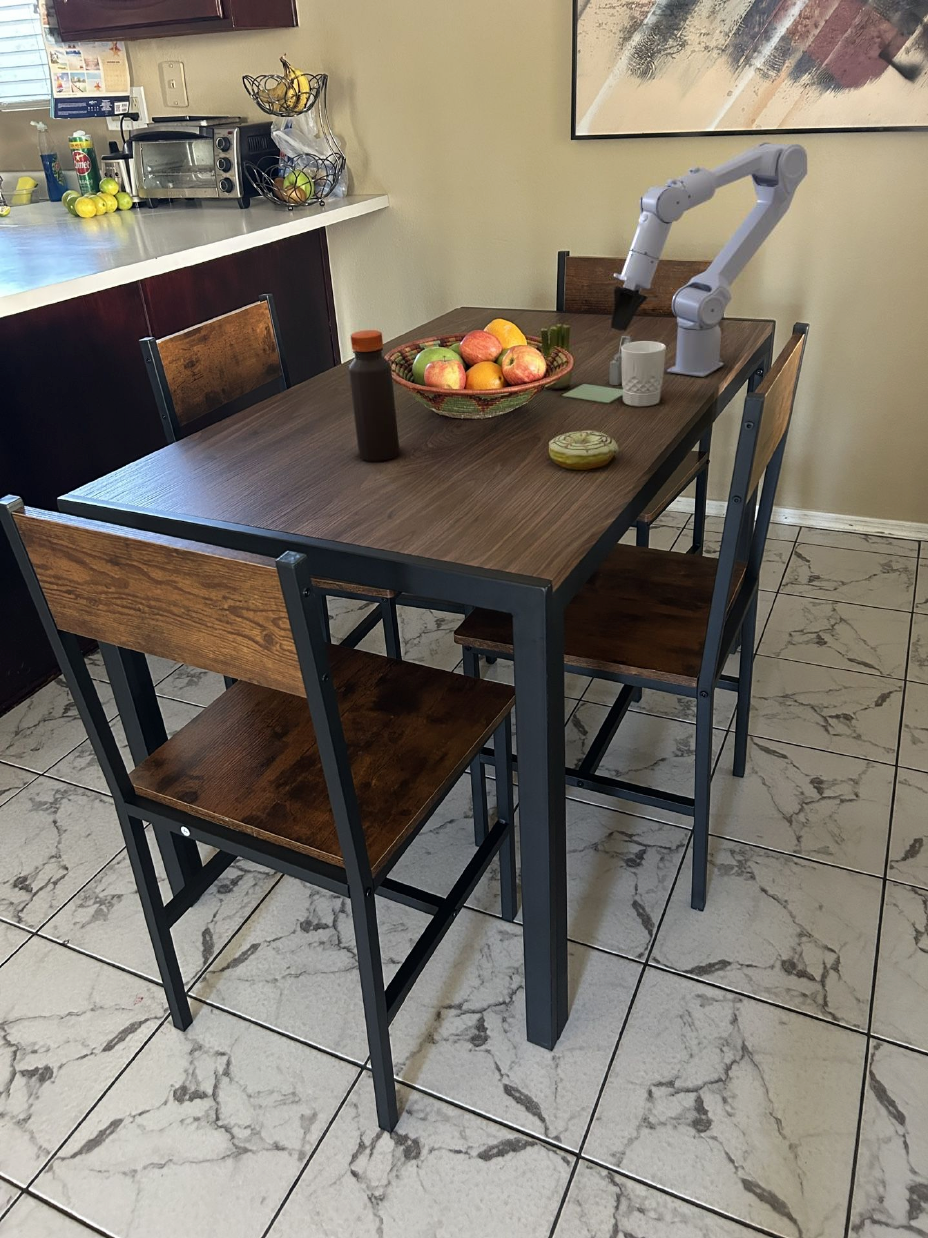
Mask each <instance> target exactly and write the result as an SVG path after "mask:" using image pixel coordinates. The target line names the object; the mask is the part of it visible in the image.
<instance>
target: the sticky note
mask: <svg viewBox="0 0 928 1238" xmlns="http://www.w3.org/2000/svg"><path fill="white" fill-rule="evenodd" d="M561 396H562V397H566V398H572V399H579V400H587V401H590V402H591V401H592V402H598V403H603V404H604V403H605V404H610V403H612V402H613V401H616V400H617V399H619V398H620V397H623V388H622V389H621V388H615V387H609V386H602V385H595V384H588V383H583V384H581V385H579V386H577V387H575V388H573V389H571V390H569V391H567V392H565V393H563V394H562V395H561Z"/></svg>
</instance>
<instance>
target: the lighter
mask: <svg viewBox="0 0 928 1238" xmlns="http://www.w3.org/2000/svg"><path fill="white" fill-rule="evenodd" d="M631 342H633V338H632V337H631V336H630V335H622V336H621V337H620V342H619V348H618V353H616V354H615V355H613V359H612V360H611V361H610V362H609V385H610V386H619V385H620V384H622V364H621V347H622V345H624V344H627V343H631Z"/></svg>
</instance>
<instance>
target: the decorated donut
mask: <svg viewBox="0 0 928 1238" xmlns="http://www.w3.org/2000/svg"><path fill="white" fill-rule="evenodd" d="M548 445H549V446H548V453H549V456H550V459H551V460H552V461H553V462H554V463H555V464H556V465H558V466H560V467H562V468H566V469H568V470H576V471H577V470H578V471H581V470H582V471H587V470H591V469H597V468H601V467H603V466H605V465H607V464H608V463H609V462H610V461H611V460H612V458H613V457H614V456H615V454H617V453H618V452H619V446H618V444H617V442H616V441H615V440H614V438H613V437H611V436H609V435H607V434H605V433H603V432H600V431H597V430H590V429H589V430H578V431H571V432H570V431H569V432H566V433H563V434H561V435H557V436H555V437H554V438H553V439H551V440H550V441H549V442H548Z"/></svg>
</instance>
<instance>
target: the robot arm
mask: <svg viewBox="0 0 928 1238" xmlns="http://www.w3.org/2000/svg"><path fill="white" fill-rule="evenodd" d="M807 175H808V154H807V151H806V149H805V147H804V146H802V145H801V144H799V143H793V144H792V143H791V144H782V143H771V142H768V141H767V142H766V141H765V142H761V143H758V145H754V146H750V147H749V148H748V149H746V150H745V151H743V152H742V153H740V154H738V155H736V156H734V157H732V158H731V159H728V160H727V161H725V162H723V163H721V164H719V165H718V166H716V167H714V168H712V169H710V170H709V169H708V168H705V167H700V166H693V167H691V168H689V169H688V173H686V174H684V175H682V176H680V177H678V178H670V179H668V180H667V181H666V182H667V183H666V184H664V185H652V186H651V187H650V188H649V189H647V190H646V192H645V193H644V195H643V196H640V198H639V211H640V213H639V214H640V215H639V218H638V225H637V227H636V230H635V234H634V236H633V239H632V241H631V245H630V247H629V251H628V253H627V257H626V259H625V262H624V264H623V267H622V271H621V273H620V274H619V273H616V272H614V274H613V278H616V279H618V280H619V281H622V282H624V283H623V287H621V286H619V285H614V286H613V308H612V315H611V321H610V328H611V329H614V330H617V331H620V332H622V331H627V329H628V327H629V326H630V325H631V323H632V320H633V318H634V317H635V315H636V313H637V312H638V310H639V309H640V307H642V305H643V304H644V303H645V302H646V301H647V300H648V296H646V295H643V294H641V292H642V288H643V289H647V290H650V289H651V287H652V284H651V283H652V281H653V278H654V275H655V272H656V270H657V267H658V265H659V264H658V263H659V261H660V259H661V256H662V253H663V250H664V248H665V244H666V242H667V239H668V237H669V233H670V231H671V228H672V225H673V223H674V222H678V221H679V220H680V219H681V218H682V217H683V215H684V213H685V212H687V211H689V210H691V209H692V208H695V207H697V206H699V205H702V204H703V203H705V202H708V201H710V200H712V198H713V197H714V195H715V193H716V190H718V189H720V188H722V187H725V186H726V185H729V184H732V183H734V182H736V181H738V180H741V179H745V178H746V177H748V176H750V177H751V181H752V185H753V189H754V191H755V195H756V196H757V203H756V204H755V205H754V206H753V208H752V209H751V210H750V212H749V213H748V215H747V216H746V217H745V219H743V221H742V222H741V224H740V225H739V226H738V228H737V229H736V230H735V232H734V233H733V234H732V236H730V238H729V240H728V241H727V242H726V244H725V245H724V247H722V249H721V250H720V252H719V253H718V255H716V257H715V258H714V260H713V261H712V262H711V264H710V265H709V266H708V268H707V269H706V270H705V271H703V272H701V273H698V274H697V275H694V276H693V277H691V279H690V280H689V281H688V282H687V283H686V284H685V285H683V286H682V287H680V288H678V289H677V291H676V292H675V293H674V295H673V297H672V300H671V310H672V313H673V315H674V316H675V317H676V324H677V336H676V353H675V354H676V355H675V365H674V366H671V367H670V368H668V369H667V370H666V371H667V373H671V374H679V375H686V376H694V377H700V378H704V377H706V376H708V375H710V374H711V373H713V372H714V371H716V370H718V369H719V368H721V367H723V366H724V362H721V361H720V357H721V345H722V344H721V343H722V330H721V328H720V326H719V324H718V323H720V321H722V319H723V317H724V315H725V312H726V309H727V306H728V305H729V303H730V302H731V300H732V294H731V289H730V287H731V286H732V284H733V283H734V282H735V281H736V279H737V278H738V277H739V275H740V274H741V273H742V271H743V270H744V269H745V267H746V266H747V265H748V263H749V262H750V260H751V259H752V258H753V257H754V256H755V254H756V253H757V251H758V250H759V249H760V247H762V245H763V243H764V242H765V241H766V240H767V239H768V237H769V236H770V234H771V233H772V232H773V231H774V229H775V228H776V226H777V225H778V224H779V222H780V221H781V220H782V219H783V217H784V216H785V215H786V213H787V212H788V210H789V209H790V206H791V205H792V201H793V199H794V196H795V193H796V191H797V188H798V186H799V185H800V184H801V183H802V181H803V180H804V179H805V178H806V176H807Z"/></svg>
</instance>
